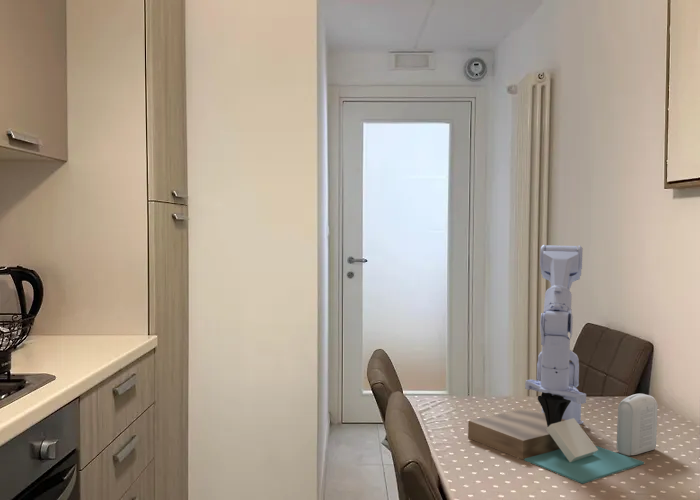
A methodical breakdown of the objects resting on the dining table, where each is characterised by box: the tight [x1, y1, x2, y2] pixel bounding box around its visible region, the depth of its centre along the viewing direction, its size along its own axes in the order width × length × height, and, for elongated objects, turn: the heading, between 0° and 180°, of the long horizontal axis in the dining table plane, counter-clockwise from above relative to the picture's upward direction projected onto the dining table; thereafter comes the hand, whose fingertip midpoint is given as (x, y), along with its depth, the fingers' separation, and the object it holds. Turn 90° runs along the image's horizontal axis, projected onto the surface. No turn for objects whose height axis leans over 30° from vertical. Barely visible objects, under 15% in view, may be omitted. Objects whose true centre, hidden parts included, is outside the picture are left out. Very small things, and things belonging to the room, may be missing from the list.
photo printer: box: [616, 393, 659, 457], centre depth 138 cm, size 10×4×12 cm, turn 123°
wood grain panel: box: [467, 407, 585, 460], centre depth 144 cm, size 20×16×4 cm
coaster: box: [546, 418, 598, 462], centre depth 134 cm, size 8×8×2 cm
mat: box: [524, 445, 645, 484], centre depth 131 cm, size 20×14×1 cm
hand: (553, 429), depth 137 cm, fingers closed
